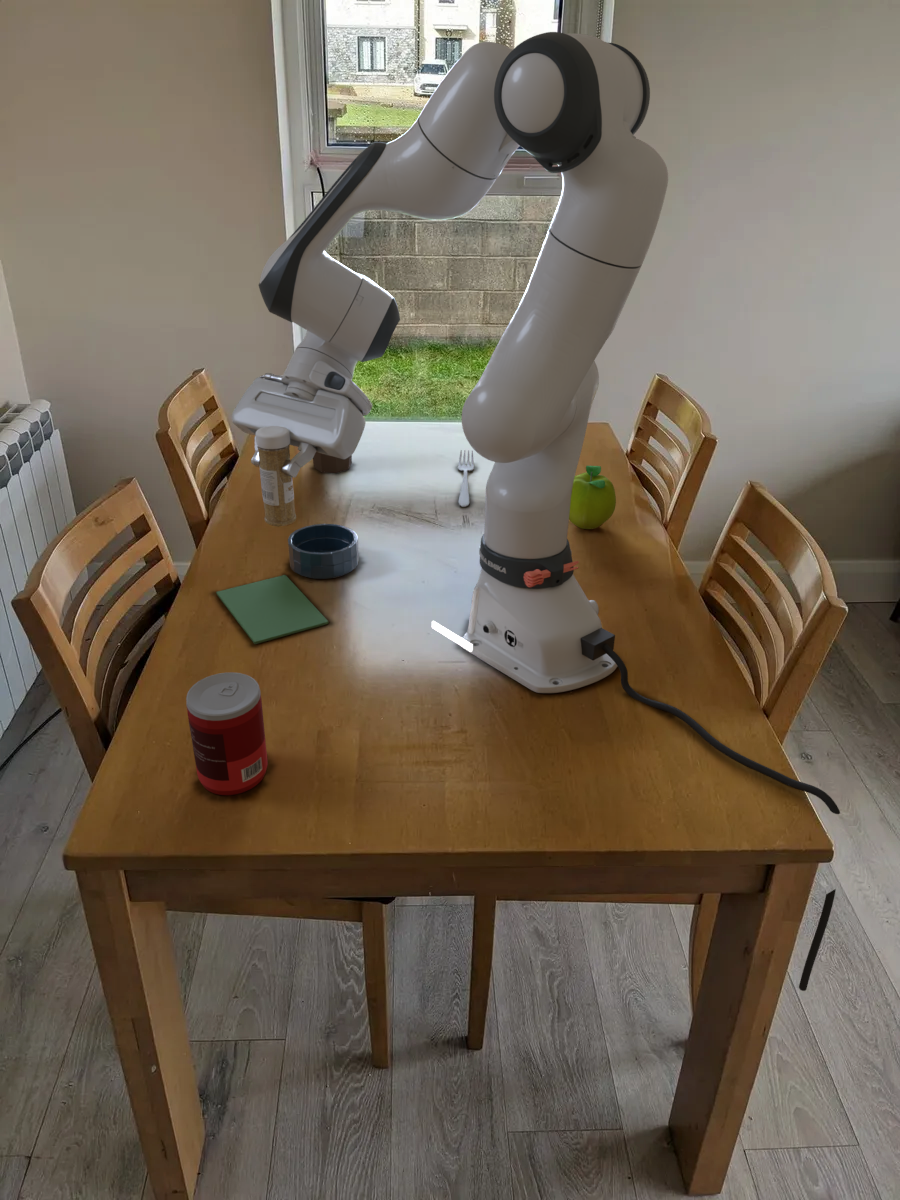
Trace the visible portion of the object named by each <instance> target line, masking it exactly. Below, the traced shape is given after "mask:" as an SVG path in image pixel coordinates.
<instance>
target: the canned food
mask: <svg viewBox="0 0 900 1200" xmlns="http://www.w3.org/2000/svg"><path fill="white" fill-rule="evenodd" d="M261 693H262V692H261V689H260V685H259V682H258V681H257V680H256V679H255V678H254V677H252V676H250V675H248V674H246V673H241V672H221V673H216V674H212V675H209V676H206V677H204V678H202V679H199V680H198V681H197V682H195V683H194V684H193V685H192V686H191V687H190V688H189V690H188V691H187V694H186V696H185V697H186V699H185V701H186V704H185V705H186V711H187V719H188V724H189V732H190V738H191V745H192V750H193V756H194V762H195V768H196V775H197V778H198V780H199V782H200V784H201V785H202V787H203V788H204V789H205V790H206V791H208V792H210V793H212V794H214V795H220V796H234V795H239V794H242V793H245V792H247V791H250V790H251V789H253V788H255V787H256V786H257V785H258V784H260V783H261V782H262V781H263V779H264V777H265V775H266V772H267V769H268V764H269V763H268V752H267V743H266V731H265V722H264V712H263V703H262V694H261Z"/></svg>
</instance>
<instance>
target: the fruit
mask: <svg viewBox="0 0 900 1200" xmlns="http://www.w3.org/2000/svg"><path fill="white" fill-rule="evenodd" d="M585 471H586V472H582V473H579V474H577V475H575V477H574V482H573V487H572V493H571V502H570V513H569V522H570V523H572V524H573V525H574V526H576V527H577V528H579V529H582V530H595V529H597V528H599V527H600V526H602V525H603V524H605V523H606V522H607V521H608V520H609V519H610V518H611V517H612V516H613V514H614V512H615V510H616V506H617V497H616V490H615V487H614V484H613V482H612V481H611V480H610V479H609V478H608V477H606V476H605V475H602V474H601V473H602V466H601V465H586V466H585Z"/></svg>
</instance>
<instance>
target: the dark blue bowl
mask: <svg viewBox="0 0 900 1200" xmlns="http://www.w3.org/2000/svg"><path fill="white" fill-rule="evenodd" d="M287 547H288V559H289V567H290V569H291V570H292V571H293V572H294V573H295V574H297V575H299V576H302V577H305V578H308V579H315V580H328V579H329V580H330V579H336V578H340V577H342V576H345V575H347V574H350V573H351V572H353V571H354V570H355V569H356V568H357V567H358V566H359V562H360V558H359V555H360V553H359V537H358V534H357V532H356V531H355V530H353V529H352V528H350V527H347V526H344V525H342V524H341V525H340V524H336V523H317V524H311V525H306V526H303V527H300V528H298V529H295V530H294V531H293V532H292V533H290V534H289V536H288V538H287Z"/></svg>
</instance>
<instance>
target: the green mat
mask: <svg viewBox="0 0 900 1200" xmlns="http://www.w3.org/2000/svg"><path fill="white" fill-rule="evenodd" d="M215 593H216V595H217V597H218V598H219V600H220V601H221V602H222V603H223V605H224V606H225V608H226V609H227V610H228V611H229V613H230V614H231V615H232V616H233V618H234V619H235V621H236V622H237V623H238V624H239V626H240V627H241V628H242V630H243V631H244V632H245V634H246V635H247V636H248V638H249V639H250V640H251V641H252V643H253V644H254V645H257V644H261V643H264V642H267V641H268V642H269V641H271V640H275V639H279V638H284V637H286V636H290V635H294V634H297V633H300V632H304V631H307V630H311V629H314V628H318V627H322V626H325V625H328V624H329V620H328V619H327V618H326V617H325V616H324V615H323V614H322V612H320V611H319V610H318V609H317V608H316V606H315V605H314V604H313V603H312V601H310V600H309V599H308V598H307V596H306V595H305V594H304V593H303V592H302V591H301V590H300V589H299V588H298V586H296V584H294V583H293V581H292V580H291V579H290V578H289V577H288V576H287V575H286V574H282V575H279V576H275V577H270V578H267V579H263V580H259V581H255V582H251V583H247V584H243V585H238V586H234V587H231V588H226V589H222V590H218V591H216V592H215Z"/></svg>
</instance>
